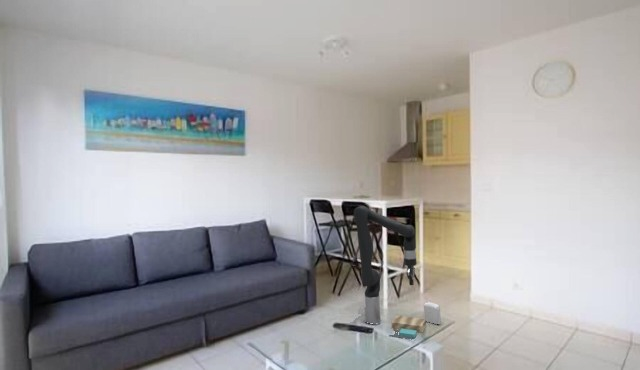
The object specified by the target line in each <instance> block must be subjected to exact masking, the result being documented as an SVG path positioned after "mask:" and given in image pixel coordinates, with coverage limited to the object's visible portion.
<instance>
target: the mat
mask: <svg viewBox="0 0 640 370" xmlns="http://www.w3.org/2000/svg"><path fill="white" fill-rule="evenodd" d="M393 330H394V331H395V334H394V335H390V334H389V335H388V336H389V337H390V336H392V338H397V337H399V338H398V339H403V338H405V339H404V340H410V339H411V341H412V340H413V338H410V337H403V336H399V335H398V332H399V331H400V330H397V329H393ZM396 332H397V333H396Z"/></svg>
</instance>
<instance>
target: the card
mask: <svg viewBox="0 0 640 370" xmlns="http://www.w3.org/2000/svg"><path fill="white" fill-rule="evenodd" d="M417 335H418V332H417V331H416V330H409V329H401V330H400V331H399V336H403V337H410V338H412V339H416V336H417Z"/></svg>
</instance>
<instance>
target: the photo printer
mask: <svg viewBox="0 0 640 370" xmlns="http://www.w3.org/2000/svg"><path fill="white" fill-rule="evenodd" d="M423 310H424V311H423V312H424V319H426V321H427V322H426V323H429V322H430V324H433V323H434V325H437V324H440V323H441V324H442V321H441V320H442V319H441V307H440V305H438V304H437V303H435V302H429V301H427V302H425V303H424V304H423ZM441 324H440V325H441Z"/></svg>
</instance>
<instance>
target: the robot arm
mask: <svg viewBox="0 0 640 370" xmlns="http://www.w3.org/2000/svg"><path fill="white" fill-rule="evenodd" d="M353 217H354V220H355V221H354V222H355V225H356V231H357V232H356V233H357V243H358V250H359V251H358V252H359V257H360V259H359V260H360V270H361V281H362V283H363V285H364V286H365V287H366V289H365V291H364V302H365V303H364V304H365V305H364V306H365V307H364V309H363V310H364V322H365V321H366V322H368V323H373V324H376V323H379V322H382V320H381V306H380V301H381V300H380V292H381V277H380V273H379V272H378V271H377V270H375V269H373V268H372V262H373V256H374V243H373V239H372V235H371V232H370V230H369V226H368V225H369V224H368V221H369V222H373V223H375V224H377V225H379V226H381V227H382V228H385V229H387V230H390V231H393V232H396V233H397V234H399V235H401V236H403V262H404V263H403V265H405V266H407V267H406V272H405V273H406V277H407V280H408V281H409V286H414V284H415V283H414V277H415V274H416V273H415V272H416V268H415V266H417V252H416V230H415V227H414V226H413V225H412V224H404V223H402V222H401V221H399V220H396V219H394V218H391V217H388V216H385V215H382V214H380V213H378V212H376V211H374V210H372V209H370V208H368V207H367V206H365V205H360V206H357V207H356V208H355V209H354V210H353ZM368 323H367V324H368ZM379 324H380V323H379ZM376 325H377V324H376Z"/></svg>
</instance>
